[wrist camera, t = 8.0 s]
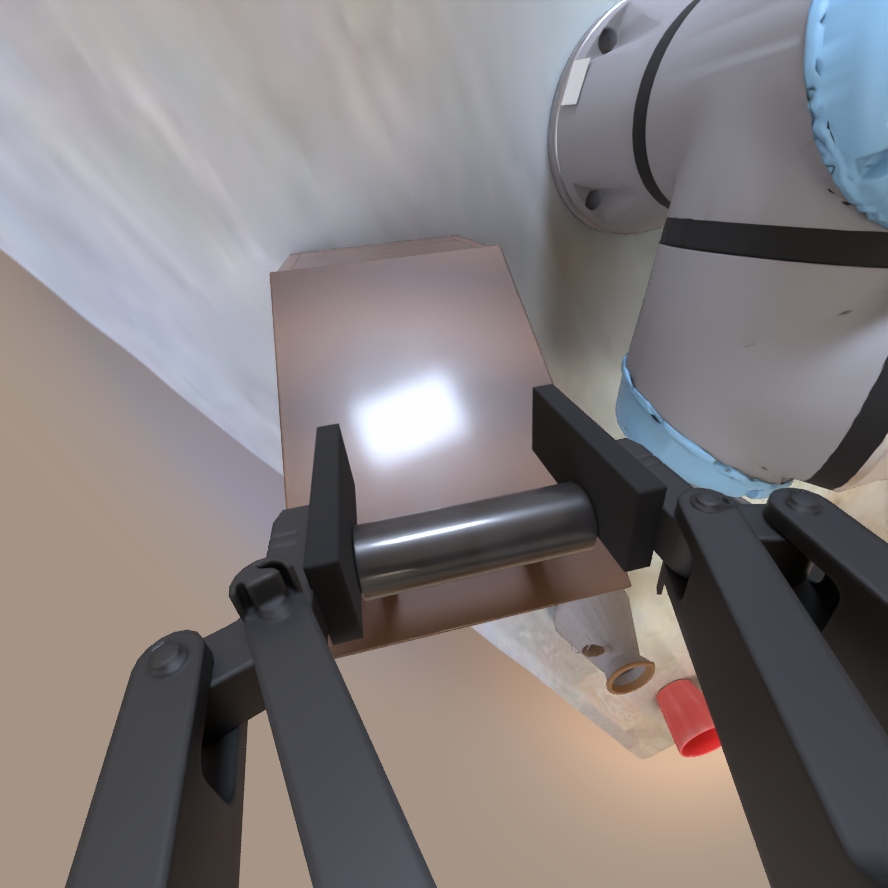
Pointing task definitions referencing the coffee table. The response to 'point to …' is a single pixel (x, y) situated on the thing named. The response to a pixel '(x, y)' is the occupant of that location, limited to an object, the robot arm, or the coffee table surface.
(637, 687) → the coffee pot
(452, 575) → the lid
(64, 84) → the coffee table surface
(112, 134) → the coffee table surface
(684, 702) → the flower pot
